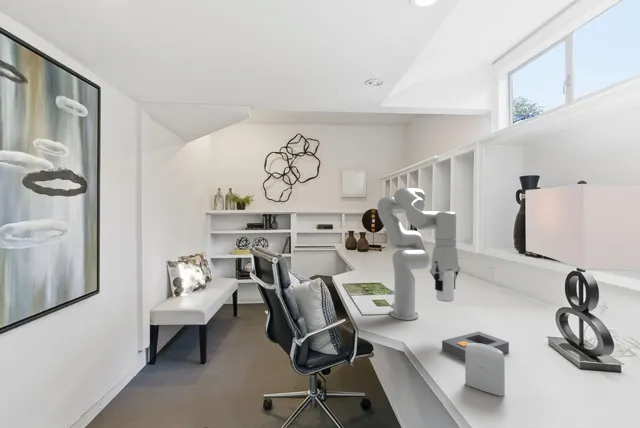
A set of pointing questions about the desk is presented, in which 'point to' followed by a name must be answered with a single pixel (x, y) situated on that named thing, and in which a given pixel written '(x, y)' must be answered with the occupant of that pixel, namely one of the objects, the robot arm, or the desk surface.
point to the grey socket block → (459, 343)
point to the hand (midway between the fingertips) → (445, 289)
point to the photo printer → (485, 368)
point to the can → (446, 287)
